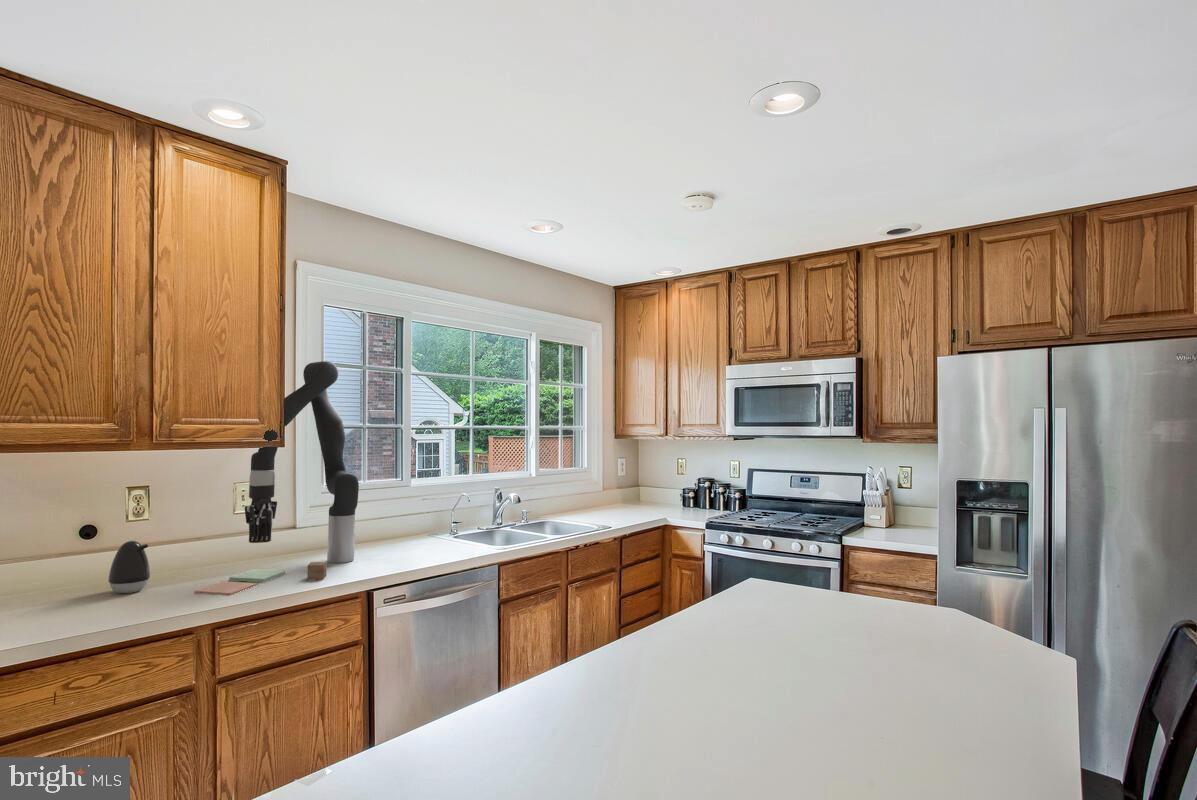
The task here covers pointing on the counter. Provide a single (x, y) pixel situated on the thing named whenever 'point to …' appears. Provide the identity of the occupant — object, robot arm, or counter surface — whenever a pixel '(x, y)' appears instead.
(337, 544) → the robot arm
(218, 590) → the terracotta tile
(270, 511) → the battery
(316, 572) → the walnut block
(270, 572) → the sage tile
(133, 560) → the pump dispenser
